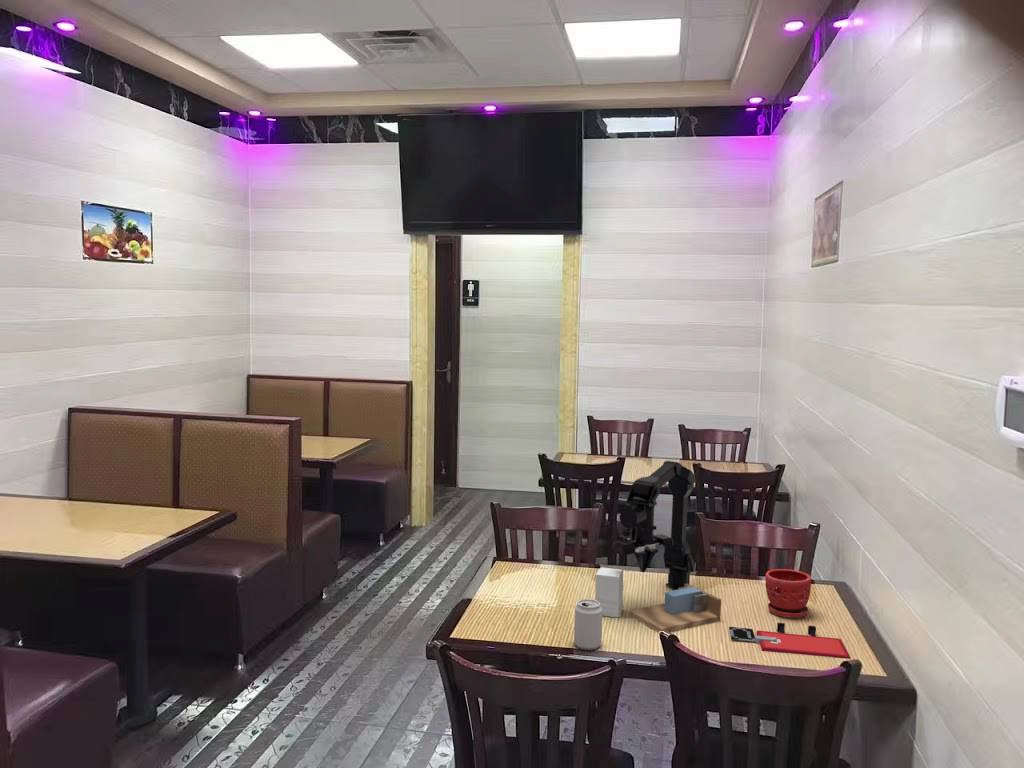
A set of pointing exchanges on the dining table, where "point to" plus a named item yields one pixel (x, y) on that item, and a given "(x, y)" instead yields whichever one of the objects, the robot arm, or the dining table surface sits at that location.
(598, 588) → the supplement box
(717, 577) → the dining table surface
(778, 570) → the plant pot
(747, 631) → the red board with handle
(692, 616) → the shelf
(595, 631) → the can
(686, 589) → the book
